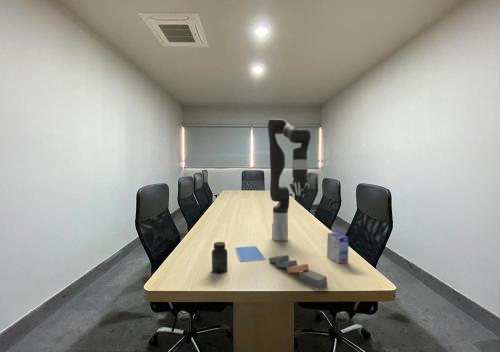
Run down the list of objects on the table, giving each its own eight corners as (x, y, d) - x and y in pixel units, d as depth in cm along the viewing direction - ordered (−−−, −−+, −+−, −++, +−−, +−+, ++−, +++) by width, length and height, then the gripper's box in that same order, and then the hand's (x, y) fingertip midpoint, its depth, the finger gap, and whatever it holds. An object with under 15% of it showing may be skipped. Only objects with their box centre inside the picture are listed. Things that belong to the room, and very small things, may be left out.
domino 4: (299, 272, 93) (318, 280, 86) (307, 269, 96) (326, 276, 89) (299, 277, 93) (318, 286, 86) (307, 273, 97) (326, 282, 89)
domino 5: (300, 276, 94) (318, 286, 86) (309, 273, 97) (327, 282, 89) (300, 281, 94) (318, 291, 86) (309, 278, 97) (327, 287, 89)
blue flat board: (234, 249, 132) (234, 247, 132) (256, 247, 134) (256, 245, 134) (240, 262, 113) (240, 260, 113) (265, 260, 116) (265, 258, 115)
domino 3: (286, 267, 102) (297, 266, 94) (296, 264, 104) (307, 263, 96) (287, 272, 101) (298, 272, 93) (297, 269, 103) (308, 269, 95)
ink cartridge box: (349, 263, 110) (349, 232, 110) (339, 264, 109) (339, 233, 109) (336, 255, 120) (336, 227, 120) (326, 256, 119) (326, 228, 118)
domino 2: (275, 262, 107) (287, 262, 100) (284, 260, 110) (296, 260, 102) (276, 266, 107) (288, 267, 99) (284, 264, 109) (297, 265, 102)
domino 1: (268, 258, 112) (279, 257, 105) (276, 256, 115) (288, 255, 108) (269, 262, 112) (280, 261, 104) (277, 260, 114) (289, 259, 107)
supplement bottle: (216, 266, 108) (216, 240, 108) (230, 268, 106) (229, 241, 105) (208, 272, 102) (208, 244, 101) (223, 274, 99) (222, 246, 99)
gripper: (315, 168, 116) (315, 203, 117) (295, 168, 127) (295, 200, 128) (304, 168, 112) (304, 205, 113) (285, 168, 123) (285, 201, 124)
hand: (299, 202), depth 120 cm, fingers closed
